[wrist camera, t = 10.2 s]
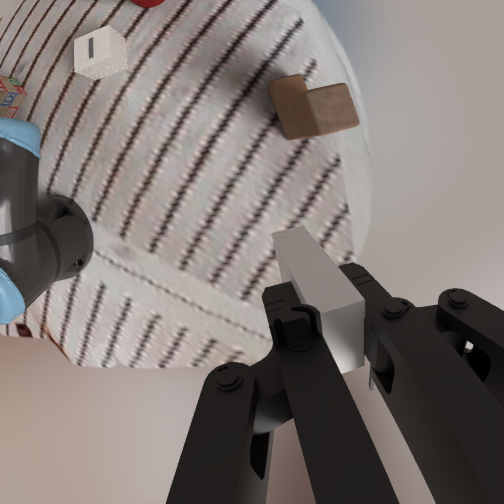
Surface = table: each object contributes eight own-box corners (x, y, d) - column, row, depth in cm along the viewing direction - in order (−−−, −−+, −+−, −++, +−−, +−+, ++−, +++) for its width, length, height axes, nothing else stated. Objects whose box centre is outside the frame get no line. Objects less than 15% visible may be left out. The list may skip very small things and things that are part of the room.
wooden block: (266, 87, 38) (286, 48, 21) (294, 79, 37) (330, 40, 20) (286, 141, 41) (319, 136, 24) (314, 132, 40) (362, 125, 24)
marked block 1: (95, 80, 35) (74, 72, 28) (93, 50, 33) (73, 38, 26) (127, 68, 35) (109, 57, 28) (125, 38, 33) (108, 23, 26)
